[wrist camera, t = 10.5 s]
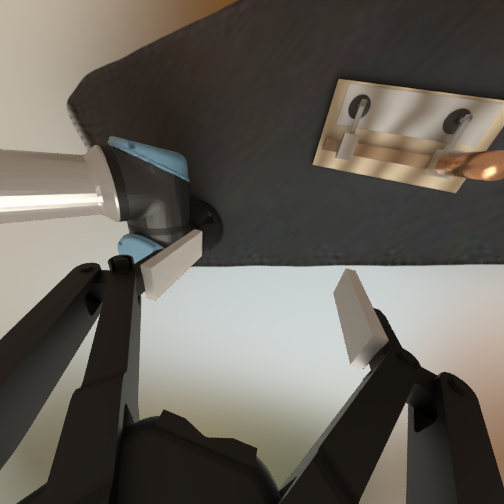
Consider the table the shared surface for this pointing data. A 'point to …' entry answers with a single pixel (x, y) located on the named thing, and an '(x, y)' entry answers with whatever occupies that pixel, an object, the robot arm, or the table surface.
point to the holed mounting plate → (402, 131)
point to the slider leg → (466, 160)
